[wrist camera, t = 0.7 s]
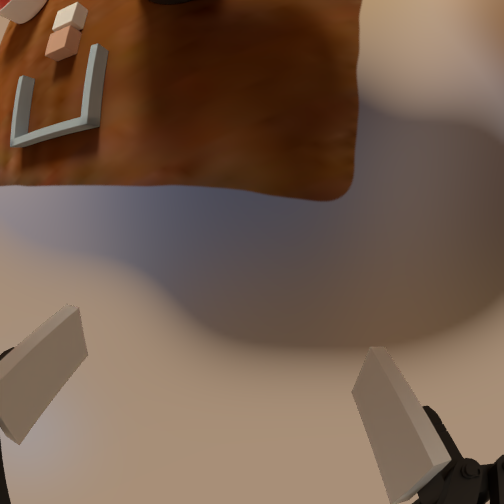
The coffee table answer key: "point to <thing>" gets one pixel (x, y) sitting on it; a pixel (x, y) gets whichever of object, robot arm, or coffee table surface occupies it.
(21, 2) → the cup
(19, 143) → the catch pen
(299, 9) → the coffee table surface
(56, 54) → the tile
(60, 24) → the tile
